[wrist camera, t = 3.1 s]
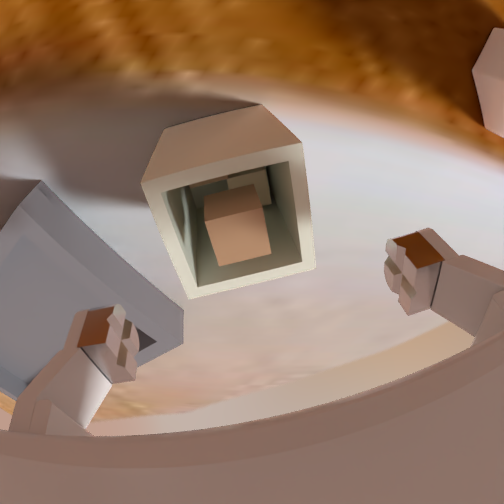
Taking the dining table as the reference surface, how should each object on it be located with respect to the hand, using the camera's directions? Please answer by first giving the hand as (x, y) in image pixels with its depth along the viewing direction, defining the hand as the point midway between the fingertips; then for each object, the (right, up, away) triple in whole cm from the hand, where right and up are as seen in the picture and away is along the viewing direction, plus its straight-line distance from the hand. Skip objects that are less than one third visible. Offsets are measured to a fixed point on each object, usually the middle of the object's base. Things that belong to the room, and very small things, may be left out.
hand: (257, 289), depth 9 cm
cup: (-2, +6, +7) cm, 9 cm away
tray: (-18, -5, +12) cm, 22 cm away
